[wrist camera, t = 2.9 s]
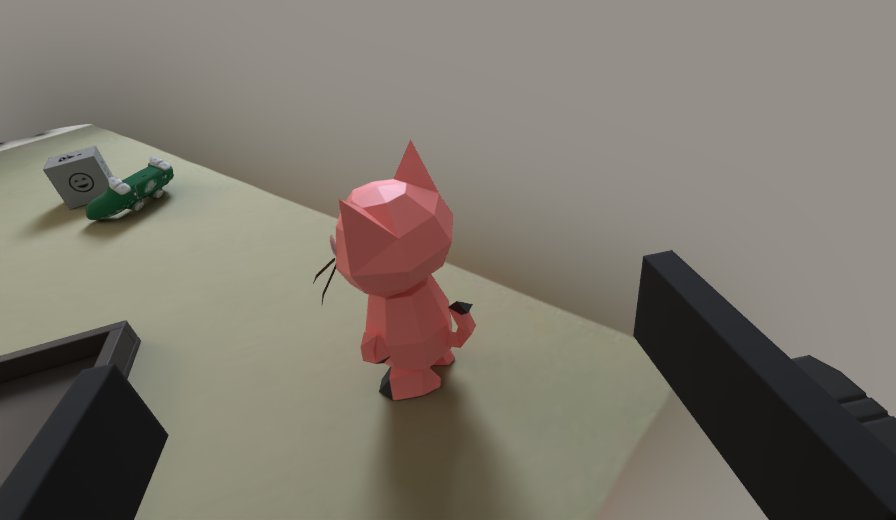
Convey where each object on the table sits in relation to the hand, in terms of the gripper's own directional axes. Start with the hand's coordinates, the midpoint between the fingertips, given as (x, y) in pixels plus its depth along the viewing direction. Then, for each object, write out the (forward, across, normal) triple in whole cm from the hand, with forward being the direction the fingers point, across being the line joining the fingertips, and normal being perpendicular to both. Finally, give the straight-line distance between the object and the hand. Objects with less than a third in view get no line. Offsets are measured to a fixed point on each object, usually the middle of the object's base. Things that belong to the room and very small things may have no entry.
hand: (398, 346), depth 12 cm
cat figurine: (+10, 0, -11) cm, 14 cm away
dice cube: (+49, -36, -11) cm, 62 cm away
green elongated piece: (+44, -28, -11) cm, 53 cm away
